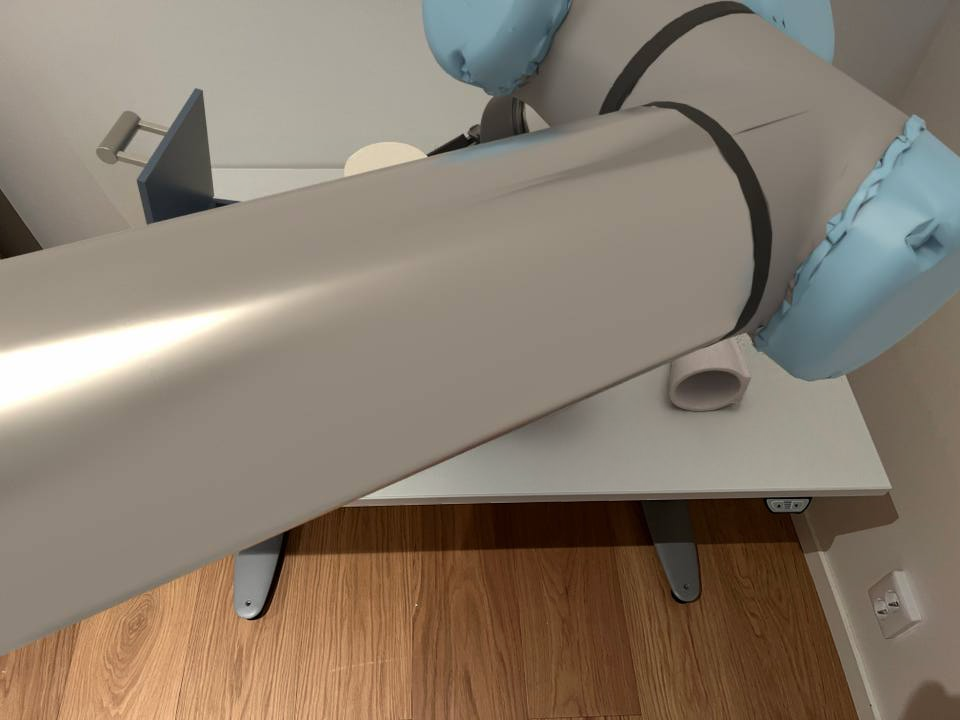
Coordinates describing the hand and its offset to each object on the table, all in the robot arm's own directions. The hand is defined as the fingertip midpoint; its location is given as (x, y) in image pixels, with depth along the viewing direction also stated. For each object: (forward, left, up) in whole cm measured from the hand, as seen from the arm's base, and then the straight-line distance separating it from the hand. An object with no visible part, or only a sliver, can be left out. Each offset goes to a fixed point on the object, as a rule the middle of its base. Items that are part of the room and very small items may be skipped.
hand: (382, 216), depth 59 cm
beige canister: (0, -1, -4) cm, 4 cm away
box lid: (-11, +23, -9) cm, 27 cm away
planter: (+35, -12, -27) cm, 45 cm away
